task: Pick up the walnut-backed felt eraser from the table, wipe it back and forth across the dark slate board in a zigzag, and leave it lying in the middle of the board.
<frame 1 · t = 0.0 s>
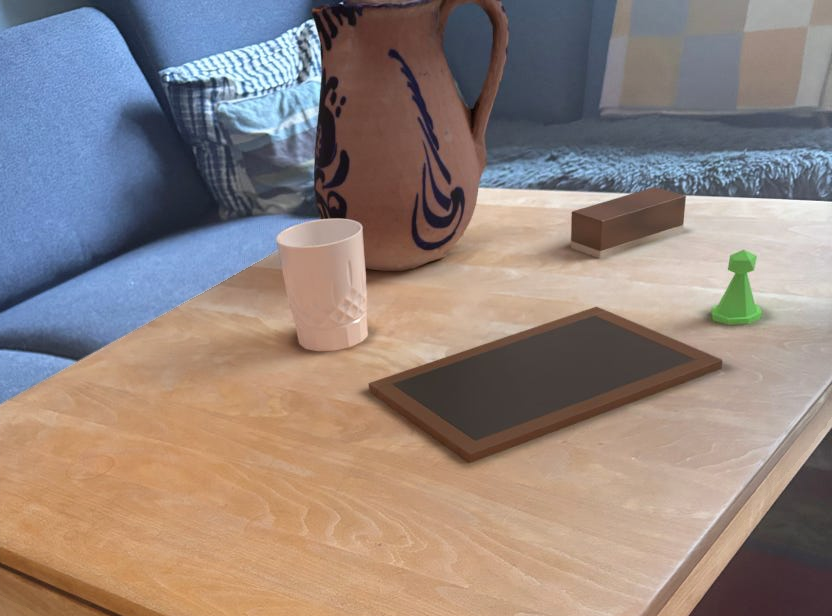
slate board: (540, 382, 81), on the table
white cup: (334, 341, 94), on the table
ceramic pitcher: (417, 257, 110), on the table
game piece: (735, 320, 86), on the table
eraser: (626, 242, 104), on the table
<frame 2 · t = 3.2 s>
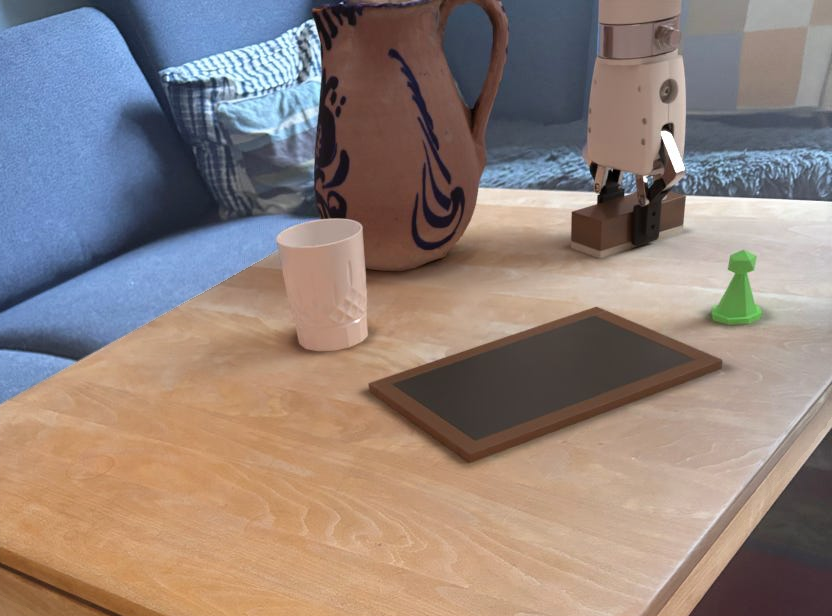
hand: (626, 234, 104), 1 cm above the table, tool pointing down, fingers closed on eraser, 5 cm apart
eraser: (626, 242, 104), on the table, touching gripper
everything else where it was.
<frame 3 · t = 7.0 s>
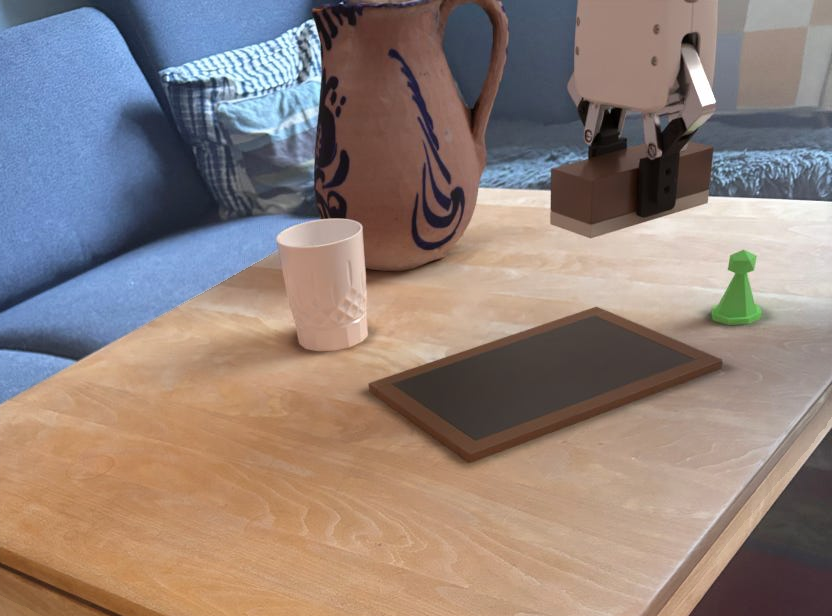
hand: (629, 202, 74), 13 cm above the table, tool pointing down, fingers closed on eraser, 5 cm apart
eraser: (628, 213, 74), point 12 cm above the table, touching gripper
everything else where it was.
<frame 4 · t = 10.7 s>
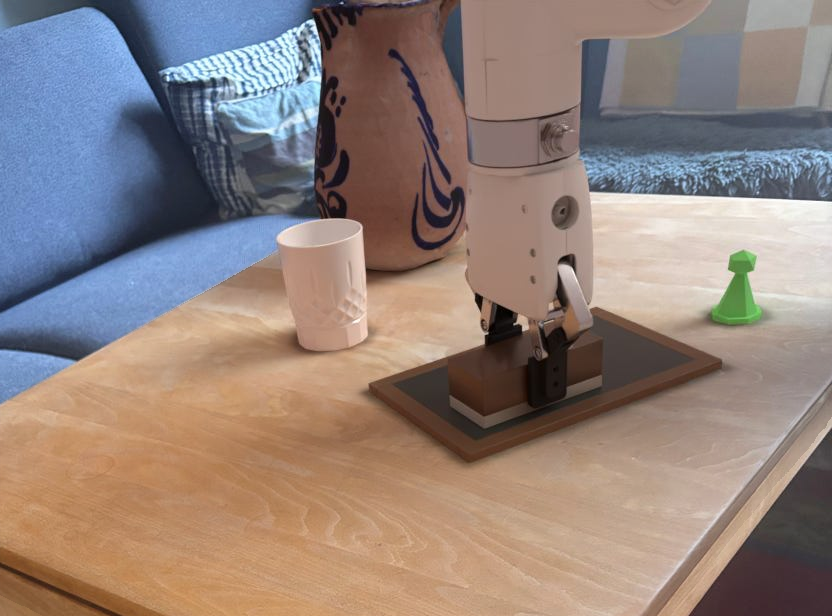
hand: (525, 387, 76), 2 cm above the table, tool pointing down, fingers closed on eraser, 5 cm apart
eraser: (525, 396, 77), point 1 cm above the table, touching gripper
everything else where it was.
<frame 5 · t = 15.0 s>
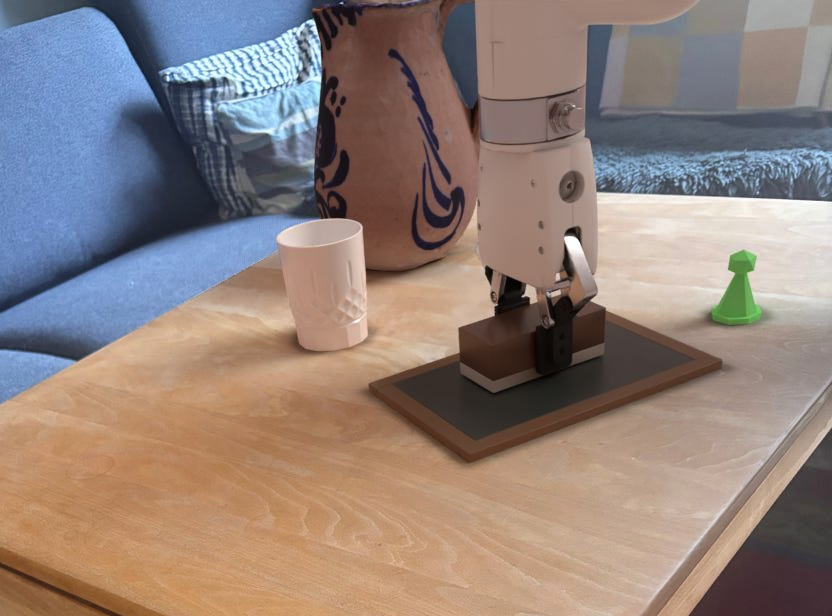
hand: (533, 356, 81), 2 cm above the table, tool pointing down, fingers closed on eraser, 5 cm apart
eraser: (532, 364, 81), point 1 cm above the table, touching gripper
everything else where it was.
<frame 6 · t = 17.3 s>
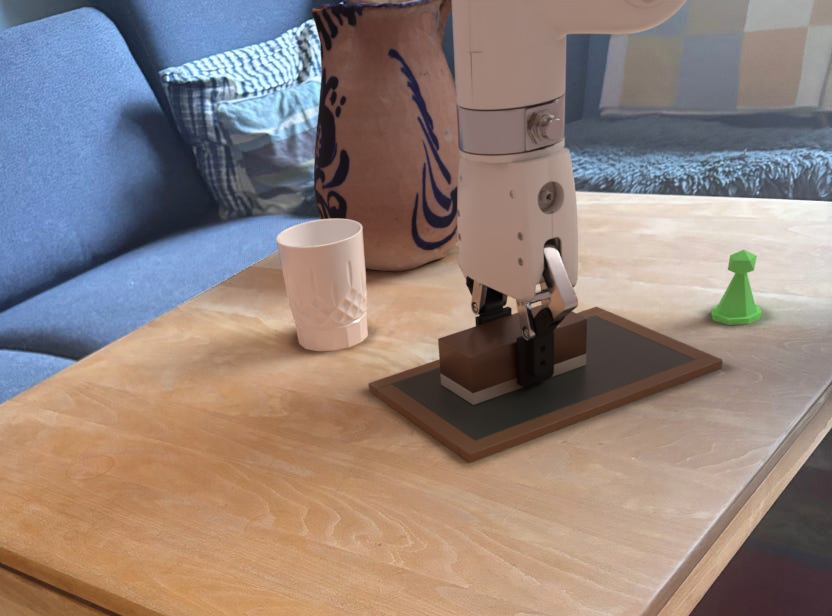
hand: (514, 367, 80), 2 cm above the table, tool pointing down, fingers closed on eraser, 5 cm apart
eraser: (513, 375, 80), point 1 cm above the table, touching gripper
everything else where it was.
when the fingers open (2 cm above the table, at t = 18.6 s): eraser stays where it is, resting on slate board.
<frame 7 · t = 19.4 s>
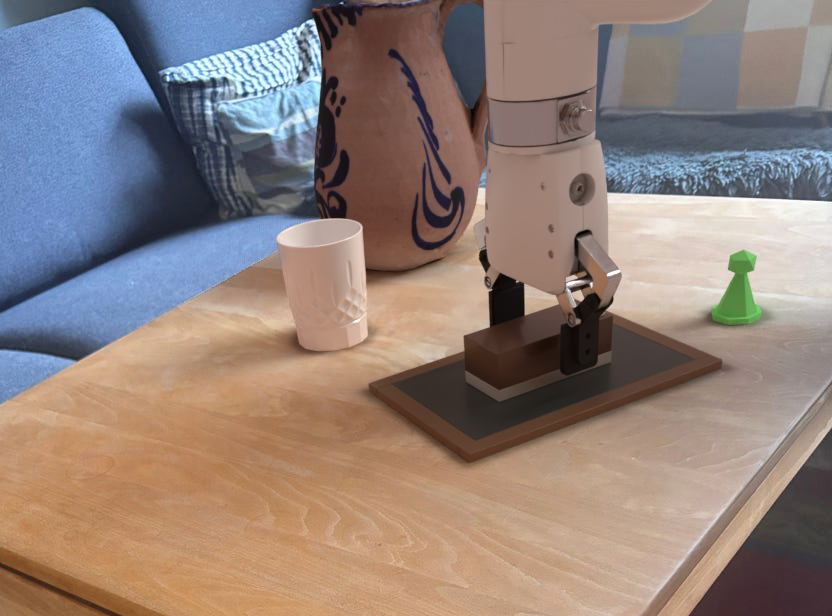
hand: (541, 350, 79), 3 cm above the table, tool pointing down, fingers open, 9 cm apart
eraser: (538, 372, 80), point 1 cm above the table, touching slate board
everything else where it was.
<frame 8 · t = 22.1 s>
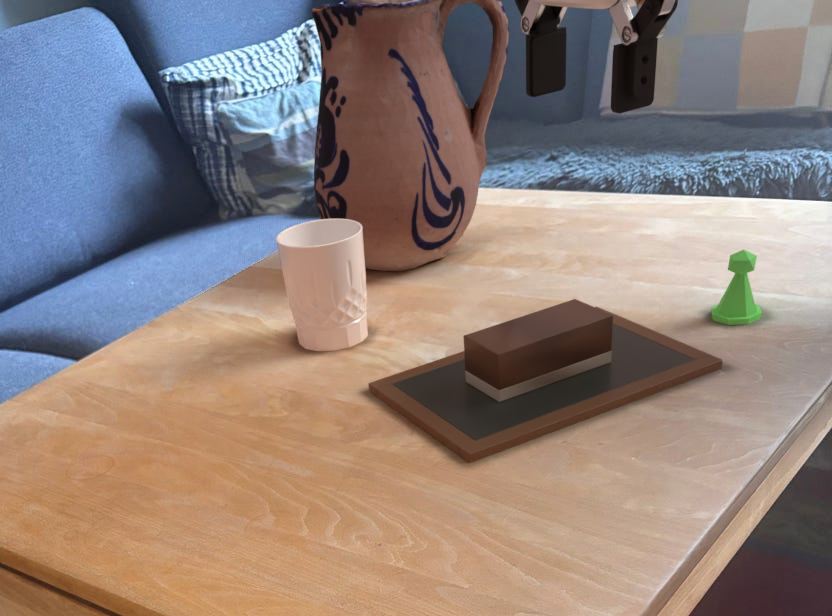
hand: (586, 100, 69), 20 cm above the table, tool pointing down, fingers open, 9 cm apart
nothing on the table moved.
at the end: eraser inside the target area on the slate board (0.2 cm from its centre), point 1.0 cm above the slate board's base; eraser moved 35.0 cm from its start; the gripper is holding nothing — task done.
